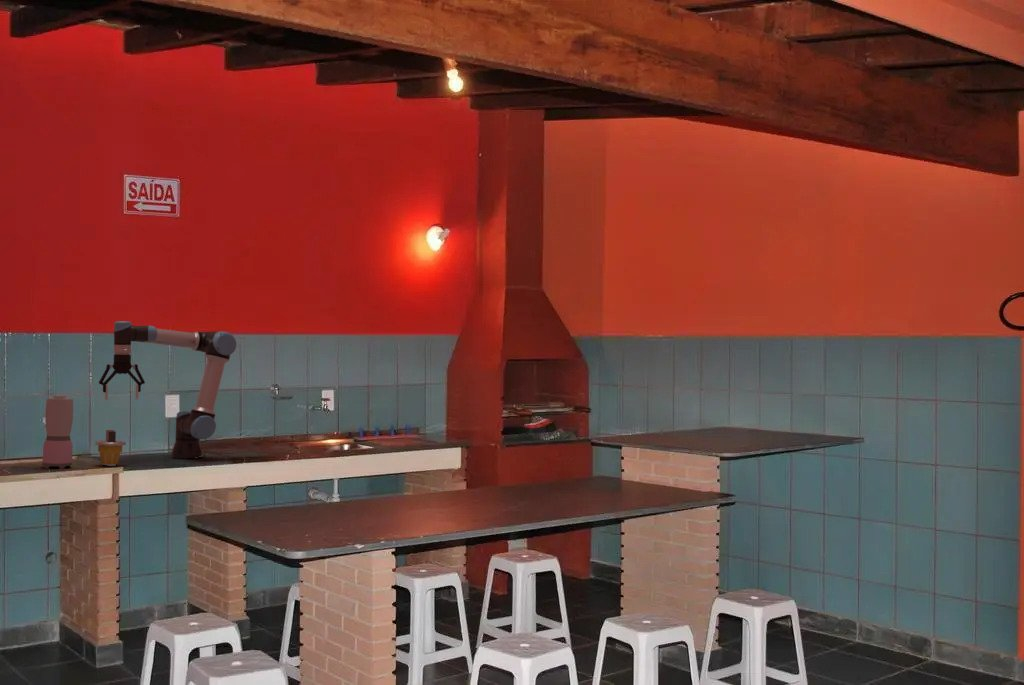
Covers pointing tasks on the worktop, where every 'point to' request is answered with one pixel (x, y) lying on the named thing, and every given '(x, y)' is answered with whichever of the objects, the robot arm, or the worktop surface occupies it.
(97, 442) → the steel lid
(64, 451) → the blender
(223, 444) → the worktop surface
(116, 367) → the robot arm
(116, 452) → the plant pot
